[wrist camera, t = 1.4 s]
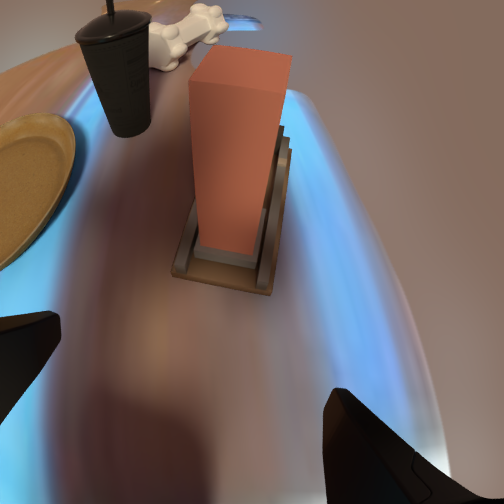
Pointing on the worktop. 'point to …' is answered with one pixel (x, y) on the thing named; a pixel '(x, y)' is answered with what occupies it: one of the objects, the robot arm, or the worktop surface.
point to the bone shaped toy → (184, 35)
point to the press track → (268, 250)
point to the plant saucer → (31, 177)
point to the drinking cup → (120, 67)
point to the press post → (234, 147)
